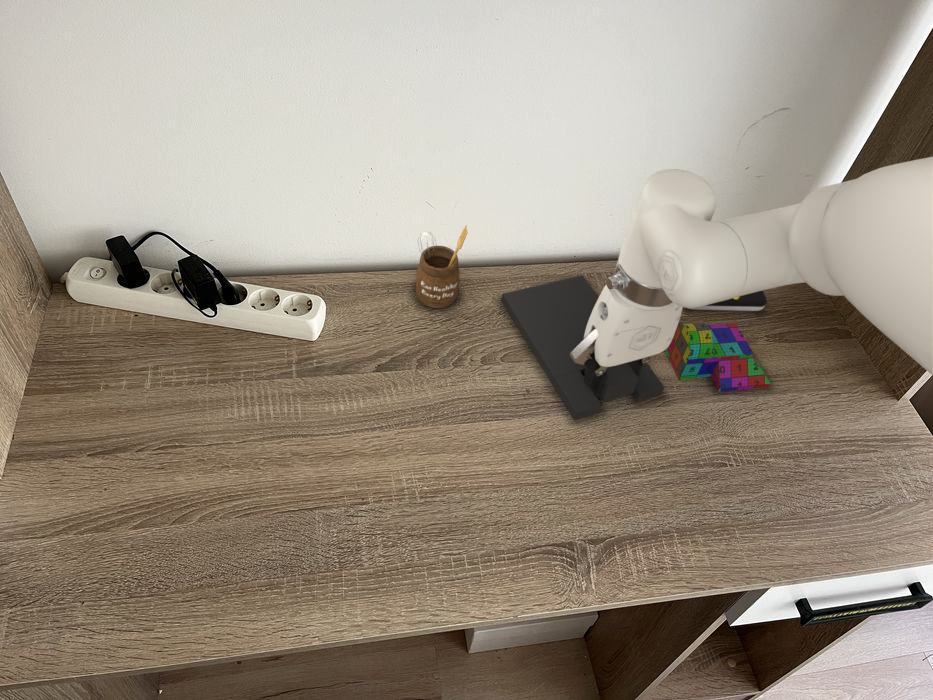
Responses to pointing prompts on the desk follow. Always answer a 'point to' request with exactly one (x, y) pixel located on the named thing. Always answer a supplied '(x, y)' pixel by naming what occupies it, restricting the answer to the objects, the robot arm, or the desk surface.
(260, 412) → the desk surface
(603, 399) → the small black box
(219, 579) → the desk surface
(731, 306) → the remote control
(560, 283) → the big pad
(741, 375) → the block
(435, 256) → the utensil holder
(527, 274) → the desk surface
